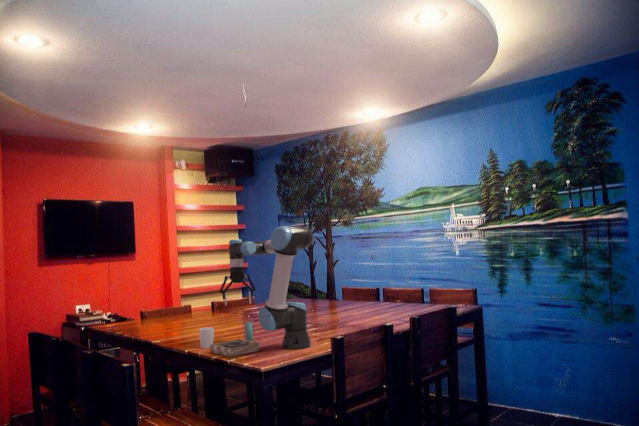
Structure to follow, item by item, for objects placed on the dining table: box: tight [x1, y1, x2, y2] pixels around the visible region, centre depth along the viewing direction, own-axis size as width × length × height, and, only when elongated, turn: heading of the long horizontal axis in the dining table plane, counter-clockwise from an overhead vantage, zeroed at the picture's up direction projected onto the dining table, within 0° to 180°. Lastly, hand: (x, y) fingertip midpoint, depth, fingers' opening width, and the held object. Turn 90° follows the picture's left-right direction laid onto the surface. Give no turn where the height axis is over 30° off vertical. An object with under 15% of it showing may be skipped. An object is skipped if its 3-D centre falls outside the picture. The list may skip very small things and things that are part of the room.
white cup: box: [198, 326, 215, 349], centre depth 255 cm, size 8×8×10 cm
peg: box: [244, 321, 254, 342], centre depth 257 cm, size 4×4×12 cm
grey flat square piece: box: [209, 338, 261, 358], centre depth 240 cm, size 18×18×4 cm
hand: (238, 304), depth 264 cm, fingers open, 13 cm apart
